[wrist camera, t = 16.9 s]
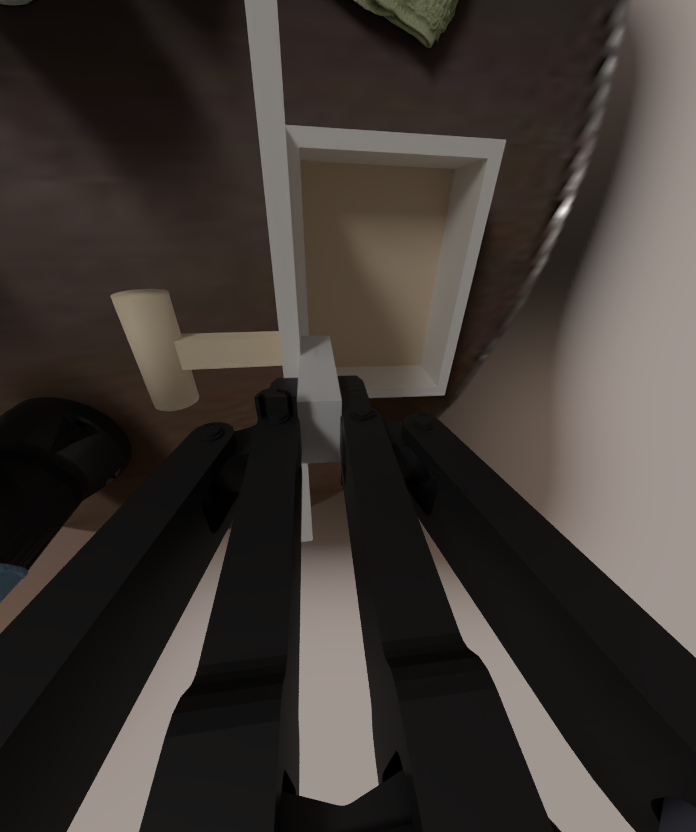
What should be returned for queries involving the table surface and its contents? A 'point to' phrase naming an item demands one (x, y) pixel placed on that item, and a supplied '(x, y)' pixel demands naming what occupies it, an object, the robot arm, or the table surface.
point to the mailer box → (388, 248)
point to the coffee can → (15, 2)
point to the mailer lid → (180, 353)
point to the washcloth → (415, 16)
